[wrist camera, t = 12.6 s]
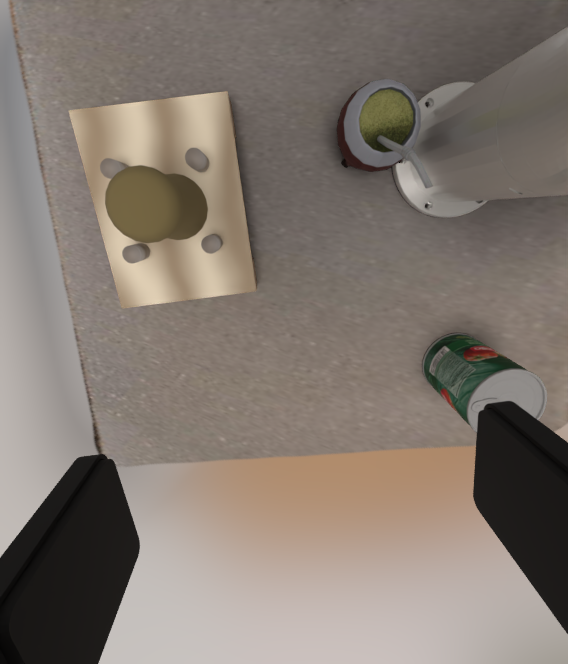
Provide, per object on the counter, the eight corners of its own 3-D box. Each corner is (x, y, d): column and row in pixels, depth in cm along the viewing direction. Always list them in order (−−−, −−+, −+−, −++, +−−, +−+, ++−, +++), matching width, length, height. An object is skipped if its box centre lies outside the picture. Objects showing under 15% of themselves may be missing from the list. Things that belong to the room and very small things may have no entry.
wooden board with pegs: (231, 104, 35) (223, 79, 29) (257, 284, 41) (255, 297, 34) (89, 121, 35) (49, 100, 29) (135, 299, 41) (110, 316, 34)
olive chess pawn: (185, 252, 36) (152, 269, 25) (131, 213, 34) (73, 213, 24) (220, 202, 34) (200, 197, 24) (166, 158, 33) (120, 133, 23)
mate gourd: (358, 84, 35) (420, -3, 21) (416, 137, 37) (509, 90, 23) (312, 151, 37) (341, 112, 23) (369, 199, 39) (429, 191, 25)
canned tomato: (487, 331, 44) (555, 367, 34) (478, 388, 47) (539, 438, 36) (424, 334, 44) (473, 371, 34) (418, 391, 47) (463, 443, 36)
